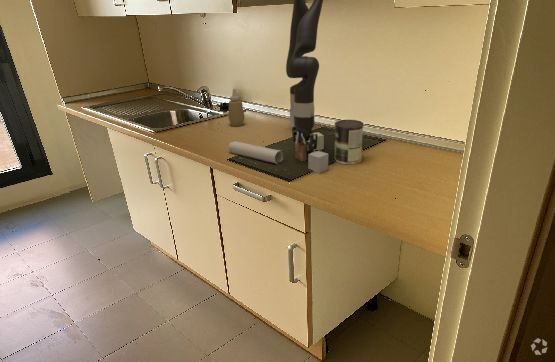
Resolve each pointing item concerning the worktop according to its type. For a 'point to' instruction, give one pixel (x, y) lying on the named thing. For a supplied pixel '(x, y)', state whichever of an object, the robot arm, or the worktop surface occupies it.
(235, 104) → the squeeze bottle
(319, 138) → the pale sage block
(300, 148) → the walnut block
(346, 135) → the coffee can
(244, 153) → the tube
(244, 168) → the worktop surface
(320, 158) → the slate grey block
